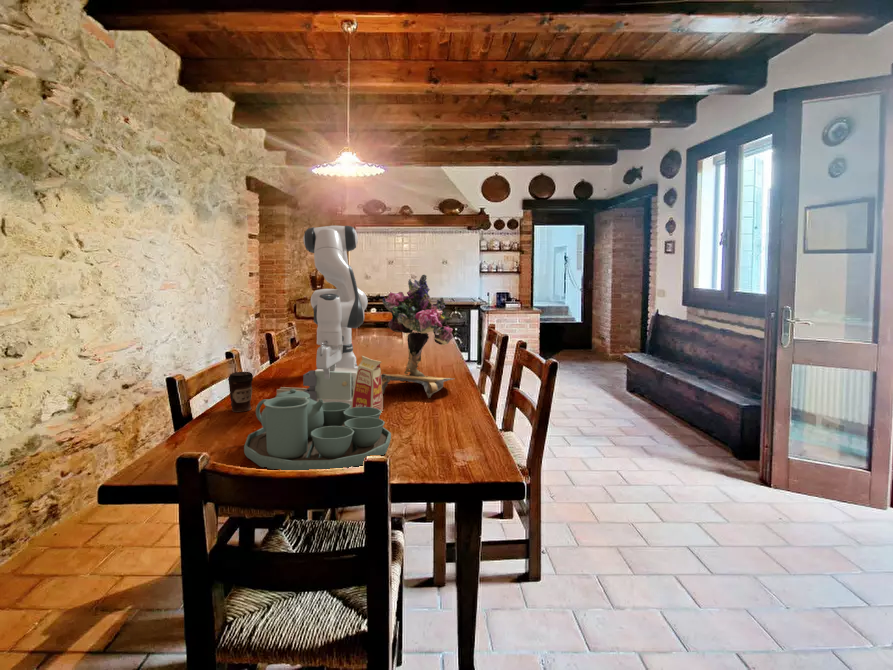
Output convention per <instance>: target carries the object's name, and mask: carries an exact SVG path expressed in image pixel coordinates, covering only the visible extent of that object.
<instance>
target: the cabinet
mask: <svg viewBox="0 0 893 670" xmlns="http://www.w3.org/2000/svg"><path fill="white" fill-rule="evenodd" d="M315 371H323V369H317V368H316V369H315ZM329 371H330V370H329ZM335 371H336V372H351V400H338V399H322V400H323V403H325V402H344V403H349V404H350V405H352V397H353V390H354V384H355V379H356V375H357V371H358V368H336V367H335ZM302 376H303V377H302V378H303V380H302V382H303V385H302V386H304V387H308V388H306V390H305V391H304V392H306V393H308V394H309V395H310V399H312V400H315V401H317V402H318V401H319V400H320V399H317V395H316V391H309V386H316V375H309V371H308V372H306V373H304V374H302Z"/></svg>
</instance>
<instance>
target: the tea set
mask: <svg viewBox="0 0 893 670" xmlns="http://www.w3.org/2000/svg"><path fill="white" fill-rule="evenodd" d="M263 405H264V408H263V409H262V411H261V407H262V406H263ZM255 415H256V419H257V420H258V421H259V422H260V423H261V428H259V429H257V430H254V431H253V432H251V433H249V434H248V435H247V437H246V440H245V443H244V446H243V452H244V455H245V456H246V458H247V459H249V460H251V461H252V462H253V463H255V464H256V465H257V466H259V467H261V468H264V467H267V468H266V469H271V470H274V469H281V470H309V469H330V468H343V467H351V466H357V467H361V466H360V465H362V464H363V461H364V458H365V457H366V456H370V455H383V456H384V454H385V455H386V454H387V452H388V449H389V447H390V443H391V439H392V432H390V431H389V430H388V429H387V428H385V427H384V426H385V423H386V422H385V421H384V420H383V419H381V418H380V416H381V415H382V414H381V411H380V410H379V409H377V408H372V407H354V408H351V405H350V404H349V403H344V402H325V403H323V400H322V399H320V400H319V401H318V402H317V401H315V400H312V399H310V395H309V394H308V393H306V392H304V391H296V390H295V389H291V390H290V391H286V392H282V393H279V394H278V395H277V394H276V395H275V397H273V398H270V399H268V398H267V399H264V398H263V399H262V400H260V401H258V403H257V405H256V408H255ZM362 466H363V465H362Z"/></svg>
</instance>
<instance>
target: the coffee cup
mask: <svg viewBox="0 0 893 670" xmlns="http://www.w3.org/2000/svg"><path fill="white" fill-rule="evenodd" d="M253 379H254V374H253V373H252V372H251V371H236V372H232V373H230V374H229V376H228V378H227V381H228V388H229V397H230V402H231V403H230V406H231V410H232V412H233V413H234V412H235V413H238V412H239V413H240V412H247V411H251V409H252V405H251V404H252V403H251V401H252V396H253V385H252V384H253V383H252V382H253Z"/></svg>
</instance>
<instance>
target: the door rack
mask: <svg viewBox="0 0 893 670" xmlns="http://www.w3.org/2000/svg"><path fill="white" fill-rule="evenodd" d="M291 389H295V390H296V391H305V390H306V389H307V387H285V386H283V387H282V386H280V387H279V389H278V388H277V389H276V396H277V395H278V394H279V393H282V392H286V391H290V390H291Z"/></svg>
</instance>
